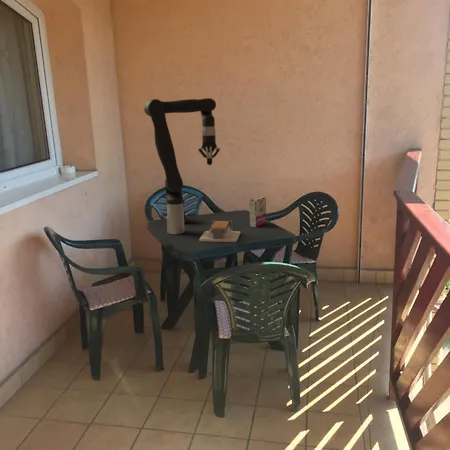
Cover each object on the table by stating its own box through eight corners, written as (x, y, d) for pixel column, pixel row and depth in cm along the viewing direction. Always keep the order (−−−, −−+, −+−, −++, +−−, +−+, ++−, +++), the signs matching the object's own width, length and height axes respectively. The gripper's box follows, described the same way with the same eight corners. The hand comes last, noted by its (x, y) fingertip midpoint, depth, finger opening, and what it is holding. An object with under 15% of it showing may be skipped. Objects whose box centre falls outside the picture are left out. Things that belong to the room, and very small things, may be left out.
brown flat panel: (215, 222, 277) (210, 229, 265) (215, 220, 277) (210, 227, 265) (229, 223, 276) (225, 229, 264) (229, 221, 276) (225, 227, 263)
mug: (166, 219, 317) (165, 196, 313) (183, 217, 320) (182, 194, 316) (171, 225, 300) (169, 201, 296) (189, 223, 303) (188, 199, 299)
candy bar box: (259, 222, 302) (259, 196, 298) (266, 223, 299) (266, 197, 295) (249, 226, 293) (248, 199, 289) (256, 227, 290) (255, 200, 286)
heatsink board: (199, 241, 265) (198, 226, 264) (205, 232, 282) (205, 219, 280) (236, 242, 262) (235, 227, 260) (240, 233, 278) (240, 219, 277)
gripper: (196, 135, 278) (197, 165, 283) (219, 134, 276) (219, 165, 281) (198, 134, 286) (199, 164, 290) (221, 133, 283) (222, 164, 288)
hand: (209, 164), depth 285 cm, fingers closed
